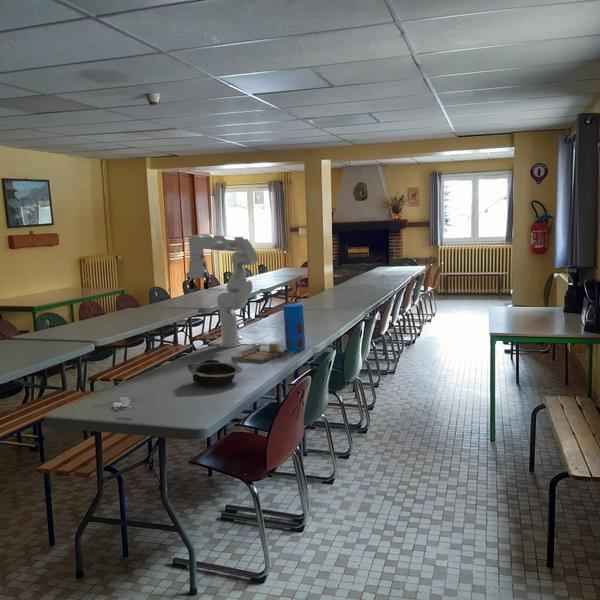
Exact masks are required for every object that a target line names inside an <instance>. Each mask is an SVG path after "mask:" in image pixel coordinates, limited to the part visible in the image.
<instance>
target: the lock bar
mask: <svg viewBox="0 0 600 600" xmlns="http://www.w3.org/2000/svg"><path fill="white" fill-rule="evenodd" d="M260 350H261V346H260V343H253V344H252V345H251V346H248V347H246V348H242V349H240V350H237V351H236V355H237V357H243V356H245V355H248V354H251V353H253V352H256V351H260Z"/></svg>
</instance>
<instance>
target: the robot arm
mask: <svg viewBox="0 0 600 600" xmlns="http://www.w3.org/2000/svg"><path fill="white" fill-rule="evenodd" d="M188 248H189V264H188V272H187V273H185V277H186V279H187V281H188V282H189V287H190V288H189V289H190V290H194V289H195V288H196V285H195V279H196V280H197V279H202V281H203V290H208V289H209V282H210V280H211V276H212V273H211V272H209V270H208V265H207V261H206V260H205V258H206V256H205V255H204V254H205V253H204V250H212V251H225V252H233V253H232V254H231V264H232V268H233V269H232V270H233V271H232V274H231V276H230V278H229V280H228V282H227V284H226V292H222V293H219V295H218V296H217V299H216V303H217V307H218V311H219V319H220V320H219V321H220V332H221V333H220V334H221V336H220V337H221V343H219V347H220V348H236V347H239V346H241V345H242V343H241V341H240V340H242V339H243V336H239V335H238V334H239V333H238V322H237V321H238V320H237V314H236V312H235V310H241V309H244V308H245V306H246V305H247V303H248V300H249V299H250V296H251V294H252V292H253V287H254V286H253V283H252V280H250V279H249V278H247V276H248V273H247V270H246V269H245V266H253V265H256V264H257V262H258V261H259V260H258V259H259V257H258V253H257V251H256V250H255V247H253V244H252V243H251V242H250V240H249V239H248V238H246V236H245V237H244V236H226V235H213V234H211V233H204V234H192V235H189V237H188Z"/></svg>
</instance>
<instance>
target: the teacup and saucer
mask: <svg viewBox="0 0 600 600" xmlns="http://www.w3.org/2000/svg"><path fill="white" fill-rule="evenodd" d="M119 400H120V402H114V403H112V407H113V408H115V407H119V408H122V407H127V406H128V407H129V406H130V405H129V404H131V400H130V399H129V397H128V396H127V397H125V396H124V397H123V396H122V397H120V399H119ZM120 406H121V407H120ZM128 407H127V408H128Z"/></svg>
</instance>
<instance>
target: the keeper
mask: <svg viewBox="0 0 600 600" xmlns="http://www.w3.org/2000/svg"><path fill="white" fill-rule="evenodd" d="M268 344H269V347H268V348H269V350H270V351H271V352H279V351H280V343H273V342H272V343H268Z"/></svg>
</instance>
